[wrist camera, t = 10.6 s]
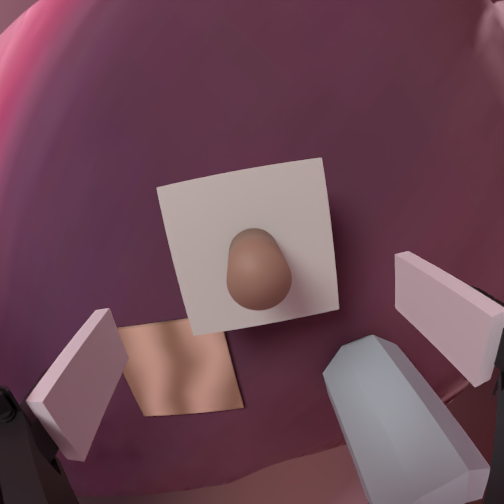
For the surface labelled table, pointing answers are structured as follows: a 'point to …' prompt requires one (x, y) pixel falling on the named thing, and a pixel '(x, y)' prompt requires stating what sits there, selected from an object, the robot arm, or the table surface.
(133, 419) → the table surface
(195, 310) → the lid
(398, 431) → the water bottle
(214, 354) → the plate
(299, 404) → the table surface
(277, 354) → the table surface
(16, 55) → the table surface
